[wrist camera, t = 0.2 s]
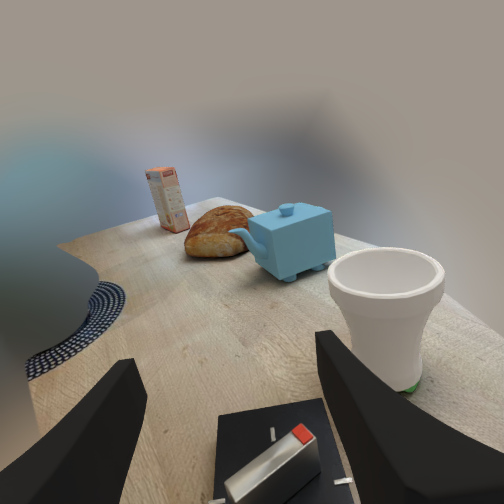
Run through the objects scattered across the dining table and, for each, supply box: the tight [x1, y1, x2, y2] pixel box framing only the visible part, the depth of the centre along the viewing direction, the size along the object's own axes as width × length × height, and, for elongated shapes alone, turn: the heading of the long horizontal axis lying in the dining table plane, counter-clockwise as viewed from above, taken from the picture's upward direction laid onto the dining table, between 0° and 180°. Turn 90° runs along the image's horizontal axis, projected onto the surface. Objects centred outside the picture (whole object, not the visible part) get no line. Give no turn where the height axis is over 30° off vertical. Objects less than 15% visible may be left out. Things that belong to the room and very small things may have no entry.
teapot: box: [228, 202, 336, 282], centre depth 66 cm, size 22×11×14 cm, turn 114°
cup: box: [327, 247, 445, 392], centre depth 36 cm, size 11×11×14 cm
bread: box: [184, 205, 254, 257], centre depth 87 cm, size 20×18×10 cm
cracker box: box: [145, 167, 190, 233], centre depth 111 cm, size 14×6×21 cm, turn 35°
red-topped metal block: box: [224, 423, 321, 504], centre depth 25 cm, size 8×2×4 cm, turn 123°
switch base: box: [208, 398, 354, 504], centre depth 28 cm, size 14×12×3 cm
